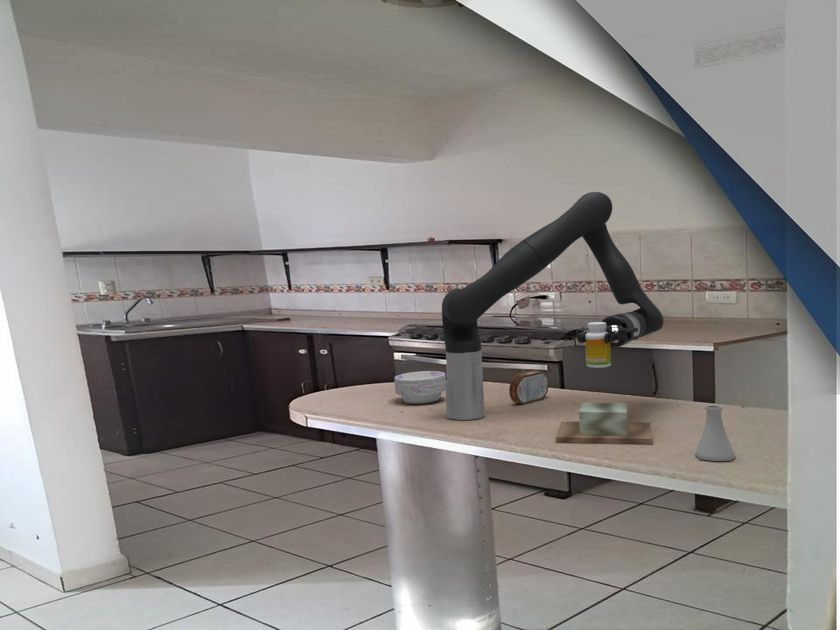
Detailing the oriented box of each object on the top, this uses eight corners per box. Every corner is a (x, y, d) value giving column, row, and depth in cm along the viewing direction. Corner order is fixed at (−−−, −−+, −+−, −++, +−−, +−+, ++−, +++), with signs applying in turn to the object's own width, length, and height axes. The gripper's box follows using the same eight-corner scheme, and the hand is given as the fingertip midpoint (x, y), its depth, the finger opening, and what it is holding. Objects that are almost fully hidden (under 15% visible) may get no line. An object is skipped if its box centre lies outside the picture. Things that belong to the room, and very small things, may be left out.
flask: (736, 463, 130) (735, 410, 130) (694, 461, 133) (693, 409, 132) (734, 453, 137) (733, 402, 136) (694, 451, 140) (693, 402, 139)
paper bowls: (387, 400, 210) (386, 374, 210) (433, 394, 217) (432, 368, 216) (408, 409, 197) (406, 381, 196) (456, 401, 203) (455, 374, 202)
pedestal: (555, 442, 152) (554, 414, 152) (561, 426, 166) (560, 400, 166) (653, 444, 146) (652, 415, 146) (650, 427, 161) (649, 400, 160)
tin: (542, 396, 204) (541, 367, 203) (551, 397, 202) (550, 368, 201) (508, 405, 194) (507, 375, 193) (517, 406, 191) (516, 376, 191)
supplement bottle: (612, 367, 154) (610, 323, 153) (586, 368, 155) (584, 324, 154) (610, 363, 159) (608, 321, 158) (585, 364, 160) (584, 322, 160)
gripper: (590, 314, 172) (561, 321, 158) (649, 313, 164) (624, 321, 150) (591, 344, 173) (563, 354, 159) (650, 345, 164) (625, 356, 151)
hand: (593, 338), depth 155 cm, fingers closed on supplement bottle, 5 cm apart
